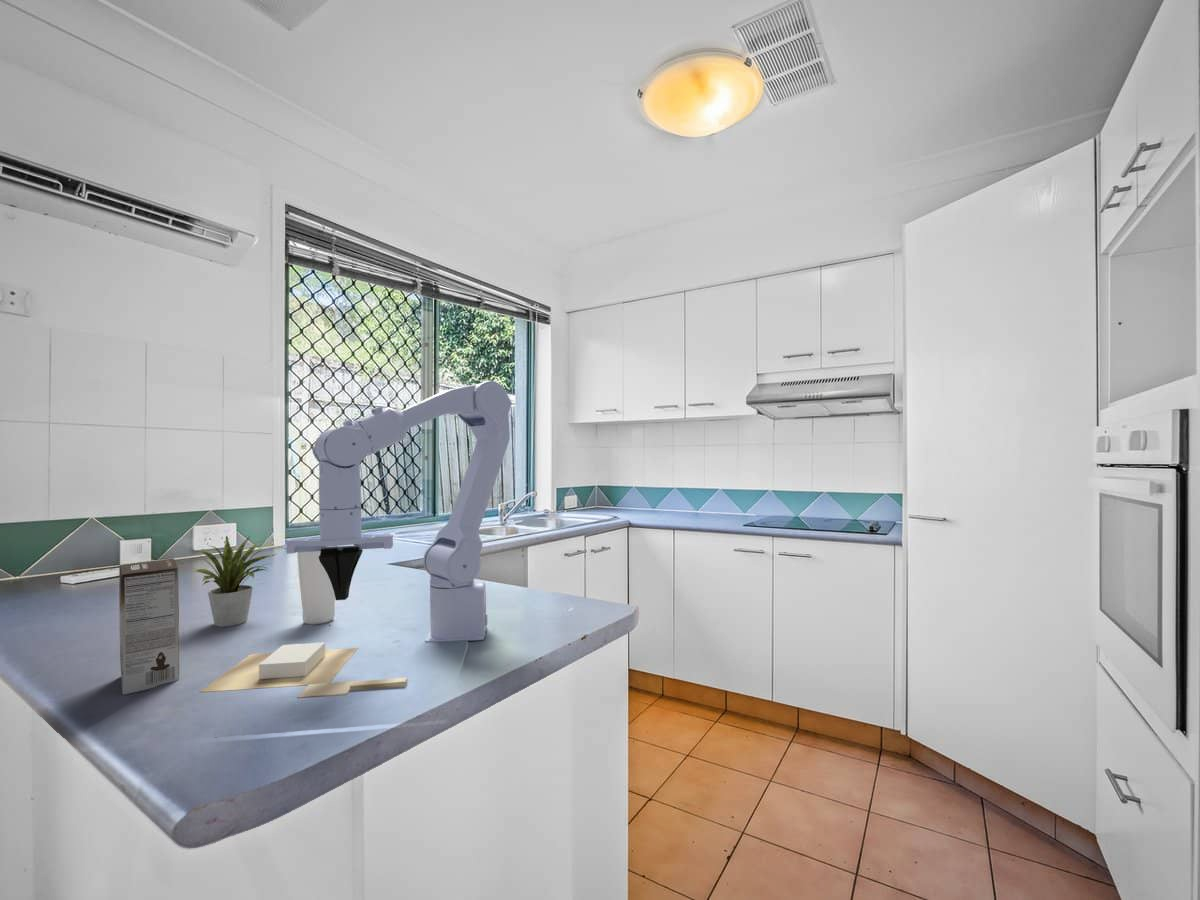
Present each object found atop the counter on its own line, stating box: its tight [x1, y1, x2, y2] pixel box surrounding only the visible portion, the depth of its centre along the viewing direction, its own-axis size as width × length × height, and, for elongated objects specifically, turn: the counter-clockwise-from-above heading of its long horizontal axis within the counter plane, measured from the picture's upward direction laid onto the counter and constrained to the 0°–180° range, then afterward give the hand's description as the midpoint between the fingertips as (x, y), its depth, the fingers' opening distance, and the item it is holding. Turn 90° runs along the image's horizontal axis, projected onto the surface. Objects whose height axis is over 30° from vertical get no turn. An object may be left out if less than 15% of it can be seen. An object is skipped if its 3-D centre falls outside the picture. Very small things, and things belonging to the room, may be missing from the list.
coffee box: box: [118, 558, 180, 696], centre depth 80 cm, size 9×6×16 cm
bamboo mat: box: [199, 647, 359, 693], centre depth 82 cm, size 16×14×1 cm
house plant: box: [193, 535, 278, 628], centre depth 105 cm, size 14×14×16 cm
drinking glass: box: [297, 546, 338, 626], centre depth 106 cm, size 7×7×15 cm
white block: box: [259, 642, 326, 679], centre depth 82 cm, size 2×8×6 cm
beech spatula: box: [296, 676, 408, 699], centre depth 75 cm, size 13×4×1 cm, turn 98°
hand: (342, 598), depth 85 cm, fingers closed
